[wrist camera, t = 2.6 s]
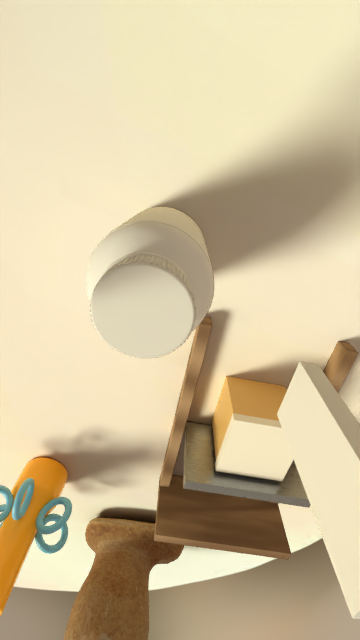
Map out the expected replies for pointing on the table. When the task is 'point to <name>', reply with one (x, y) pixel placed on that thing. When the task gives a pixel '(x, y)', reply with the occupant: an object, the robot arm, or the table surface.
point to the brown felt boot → (118, 581)
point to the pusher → (207, 479)
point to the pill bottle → (150, 283)
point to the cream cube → (250, 430)
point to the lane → (217, 509)
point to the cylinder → (30, 518)
